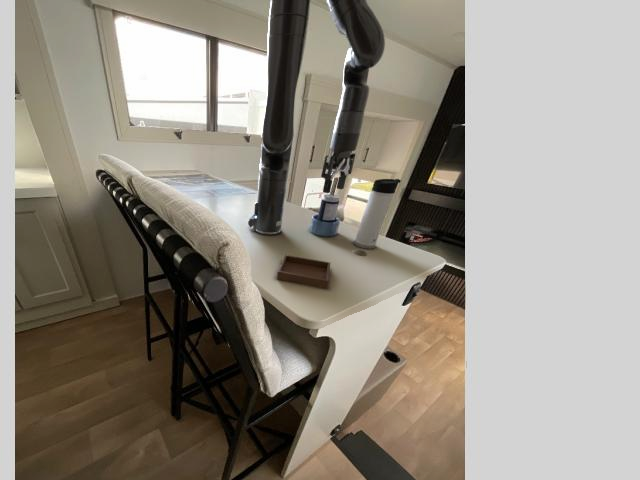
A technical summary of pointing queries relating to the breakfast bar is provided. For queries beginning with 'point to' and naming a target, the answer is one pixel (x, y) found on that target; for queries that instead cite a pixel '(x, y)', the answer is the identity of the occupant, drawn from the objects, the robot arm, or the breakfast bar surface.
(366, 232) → the travel mug
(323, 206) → the beverage can
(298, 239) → the breakfast bar surface
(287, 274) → the tray
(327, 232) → the bowl
